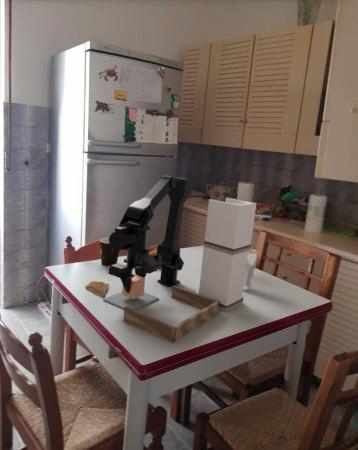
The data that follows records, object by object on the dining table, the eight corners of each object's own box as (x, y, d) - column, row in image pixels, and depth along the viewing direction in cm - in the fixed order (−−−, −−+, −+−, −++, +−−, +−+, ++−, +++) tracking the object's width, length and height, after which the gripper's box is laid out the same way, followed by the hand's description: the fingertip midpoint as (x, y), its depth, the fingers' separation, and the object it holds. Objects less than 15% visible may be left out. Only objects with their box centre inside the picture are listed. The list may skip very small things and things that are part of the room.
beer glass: (255, 289, 144) (261, 251, 141) (245, 293, 139) (251, 254, 136) (240, 283, 149) (245, 246, 146) (230, 287, 144) (235, 249, 141)
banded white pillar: (242, 303, 130) (256, 203, 123) (225, 311, 122) (239, 205, 114) (215, 292, 137) (227, 197, 130) (198, 300, 129) (209, 199, 121)
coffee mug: (102, 259, 162) (103, 236, 160) (122, 262, 161) (123, 239, 159) (92, 267, 151) (94, 243, 149) (113, 270, 150) (115, 246, 148)
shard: (103, 299, 124) (103, 294, 124) (80, 297, 124) (80, 292, 123) (109, 286, 135) (109, 282, 134) (88, 285, 134) (88, 280, 134)
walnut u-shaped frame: (173, 296, 130) (174, 285, 129) (218, 313, 120) (220, 301, 119) (123, 320, 110) (124, 307, 109) (173, 343, 100) (174, 329, 99)
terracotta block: (132, 290, 127) (133, 273, 126) (143, 295, 124) (145, 277, 123) (122, 294, 123) (123, 277, 122) (133, 299, 120) (135, 281, 119)
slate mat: (132, 289, 133) (132, 287, 133) (158, 299, 127) (158, 297, 127) (103, 300, 122) (103, 298, 122) (130, 312, 115) (131, 310, 115)
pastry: (186, 266, 164) (188, 249, 162) (155, 270, 155) (156, 252, 153) (166, 255, 177) (167, 239, 175) (137, 258, 169) (138, 241, 167)
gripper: (136, 256, 108) (133, 306, 111) (173, 245, 123) (169, 289, 127) (108, 247, 114) (106, 295, 117) (147, 238, 129) (144, 280, 133)
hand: (133, 290), depth 123 cm, fingers closed on terracotta block, 5 cm apart
